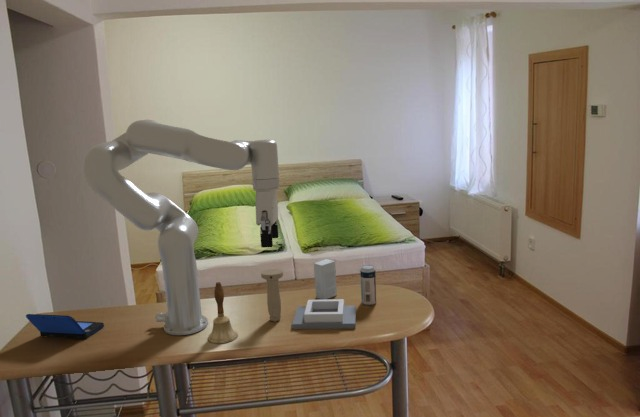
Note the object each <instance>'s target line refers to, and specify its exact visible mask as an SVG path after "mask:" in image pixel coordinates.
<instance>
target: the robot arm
mask: <svg viewBox="0 0 640 417" xmlns="http://www.w3.org/2000/svg"><path fill="white" fill-rule="evenodd" d="M149 154H150V155H151V154H152V155H158V156H163V157H169V158H172V159H173V158H174V159H178V160H182V161H186V162H189V163H193V164H194V163H195V164H198V165H202V166H206V167H211V168H216V169H220V170H221V169H222V170H226V171H227V170H228V171H239V170H241V169H243V168H245V166H248V165H250V166H251V178H252V191H255V224H256V226H260V228H259V229H260V231H259V232H260V234H259V235H260V247H261V248H272V247H273V246H274V243H273V239H278V238H279V227H278V226H279V225H278V218H279V205H278V204H279V203H278V194H277V190H280V188H281V187H280V172H279V170H280V169H279V157H278V156H279V155H278V154H279V153H278V144H277V142H276V141H275V140H274V139H258V140H242V139H240V140H239V139H237V140H232V141H231V140H230V141H226V140H222V139H217V138H212V137H208V136H204V135H201V134H199V133H197V132H195V131H193V130H191V129H189V128H185V127H184V128H183V127H178V126H173V125H166V124H162V123H158V122H157V121H156V120H151V119H142V120H141V119H140V120H136V121H134V122H131V123H130V125H129V126H128V127H127V129H126V131H125V132H124V133H123V134H121V135H119V136H117V137H115V138H114V139H112V140H110V141H107V142H101V143H98V144H96V145H94V146H92V147H91V148H90V149H89V150H88V151H87V153H86V154H85V157H84V159H83V167H82V168H83V174H84V179H85V181H86V183H87V184H88V186H89V187H90V189H91V190H92V191H93V192H94V193H96V195H97V196H99V197H100V198H101V199H102V200H104V201H105V202H106V203H107V204H109V205H110V206H111V207H112V208H114V209H115V210H116V212H119V214H121V215H122V216H123V217H125V219H126V220H127V221H129V222H130V223H131V224H133V226H135V227H136V228H138V229H139V230H141V231H146V232H147V231H153V230H155V229H156V230H158V231H159V235H158V238H157V249H158V253H159V258H160V262H161V268H162V276H163V282H164V291H165V298H166V307H167V311H166V312H156V313H155V320H156V323H161V322H162V323H163V322H164V325H163V329H164V332H165V333H166V334H168V335H171V336H188V335H192V334H196V333H198V332H201V331H202V330H204V329H206V328H207V326H208V324H209V320H208V318H207V316H205V315H203V314H202V305H201V293H200V285H199V278H198V277H199V274H198V268H197V267H198V266H197V259H196V254H195V249H194V246H195V245H194V244H195V243H196V241H197V239H198V237H199V226H198V224H197V223H196V221H195V220H194V219H193V218H192V217H191V216H190V215H189V214H188V213H187V212H185V210H183V209H182V208H180V207H179V206H178V205H177V204H176V203H174V201H172V200H171V199H169V198H168V197H167V196H165V195H163V194H162V193H158V192H148V193H146V192H145V191H143V190H142V189H141V188H139V187H138V186H137V184H135V183H133V182H132V181H131V180H129V179H127V177H125V176H123V175H122V174H121V173H120V171H121V170H123V169H124V170H125V169H126V168H127V167H130V165H133V164H134V163H135V162H136V161H139V160H141V159H142V158H143V157H145V156H147V155H149Z"/></svg>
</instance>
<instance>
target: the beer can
mask: <svg viewBox="0 0 640 417" xmlns="http://www.w3.org/2000/svg"><path fill="white" fill-rule="evenodd" d="M359 271H360V293H361V294H360V295H361V298H360V300H361V304H363V305H365V306H373V305H375V304H376V303H377V284H376V283H377V282H376V281H377V278H376V268H375V266H374V265H372V264H366V265H365V264H364V265H361V267H360V269H359Z"/></svg>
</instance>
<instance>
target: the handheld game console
mask: <svg viewBox="0 0 640 417" xmlns="http://www.w3.org/2000/svg"><path fill="white" fill-rule="evenodd" d="M25 317H26V319H27V320H28V321H29V322H30V323H31V324H32V325H33V326H34V328H36V329H37V331H39V334H40V337H41V336H48V337H47V338H54V339H55V338H66V339H73V340H87V339H88V338H89V337H91V336H92V335H94V334H95V333H97V332H98V331H100V330H101V329H103V328H104V326H105V323H104V322H99V321H85V320H84V321H83V320H82V321H81V320H79V321H78V320H75V318H74V317H72V316H70V315H63V314H62V315H60V314H36V313H28V314H26V315H25Z"/></svg>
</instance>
